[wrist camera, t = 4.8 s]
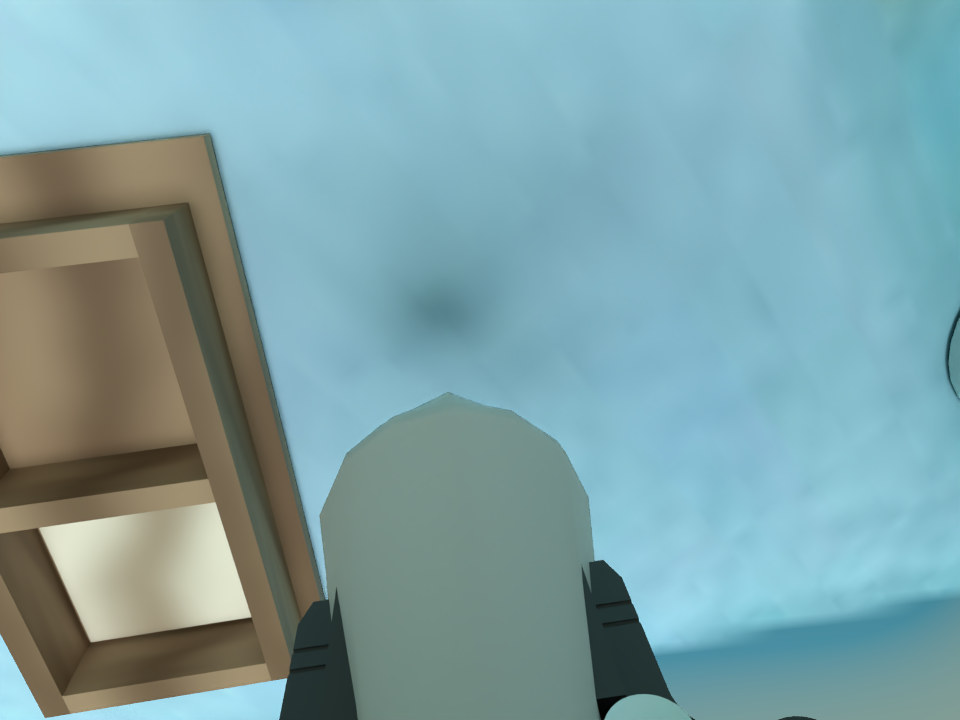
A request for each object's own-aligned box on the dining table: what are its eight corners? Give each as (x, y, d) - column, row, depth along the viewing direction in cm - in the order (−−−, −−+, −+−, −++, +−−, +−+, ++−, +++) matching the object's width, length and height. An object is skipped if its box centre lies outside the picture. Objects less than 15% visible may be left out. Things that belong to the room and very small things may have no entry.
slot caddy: (209, 133, 22) (178, 145, 19) (335, 641, 32) (329, 705, 29) (-176, 174, 21) (-275, 194, 18) (73, 683, 31) (37, 755, 28)
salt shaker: (559, 553, 18) (844, 1475, 6) (344, 569, 18) (215, 1602, 6) (568, 354, 16) (1054, 1237, 4) (320, 367, 15) (20, 1415, 3)
